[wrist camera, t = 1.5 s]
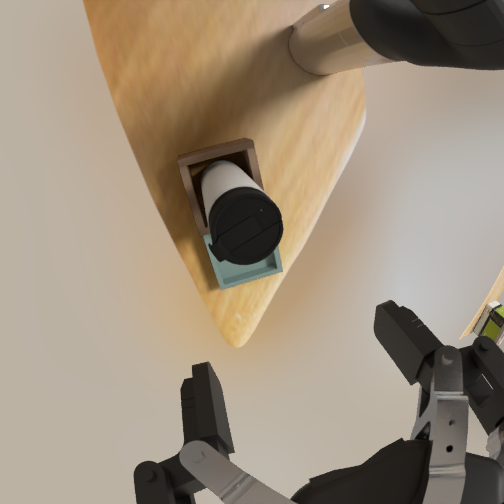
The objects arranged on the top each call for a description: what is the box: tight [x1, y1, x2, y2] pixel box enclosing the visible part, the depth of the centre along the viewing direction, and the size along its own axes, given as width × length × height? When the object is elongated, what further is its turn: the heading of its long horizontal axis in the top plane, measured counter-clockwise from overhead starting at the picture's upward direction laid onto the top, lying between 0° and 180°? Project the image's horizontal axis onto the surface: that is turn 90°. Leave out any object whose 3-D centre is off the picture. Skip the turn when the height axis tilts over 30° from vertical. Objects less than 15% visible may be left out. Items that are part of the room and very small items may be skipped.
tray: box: [203, 234, 283, 290], centre depth 44 cm, size 11×11×2 cm
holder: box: [177, 138, 264, 237], centre depth 37 cm, size 11×10×5 cm
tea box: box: [473, 300, 504, 346], centre depth 78 cm, size 15×10×15 cm, turn 175°
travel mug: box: [201, 160, 283, 265], centre depth 31 cm, size 6×7×20 cm
